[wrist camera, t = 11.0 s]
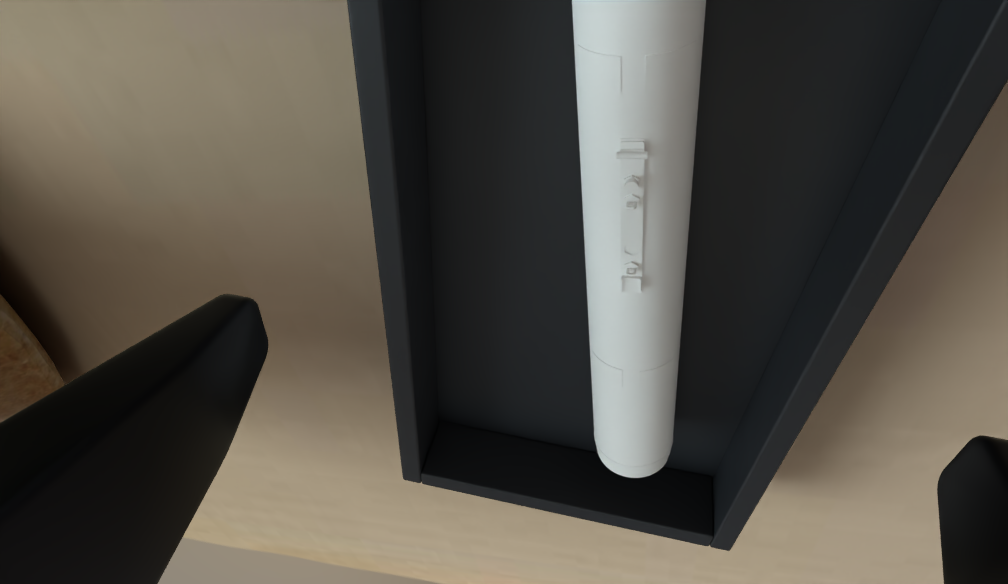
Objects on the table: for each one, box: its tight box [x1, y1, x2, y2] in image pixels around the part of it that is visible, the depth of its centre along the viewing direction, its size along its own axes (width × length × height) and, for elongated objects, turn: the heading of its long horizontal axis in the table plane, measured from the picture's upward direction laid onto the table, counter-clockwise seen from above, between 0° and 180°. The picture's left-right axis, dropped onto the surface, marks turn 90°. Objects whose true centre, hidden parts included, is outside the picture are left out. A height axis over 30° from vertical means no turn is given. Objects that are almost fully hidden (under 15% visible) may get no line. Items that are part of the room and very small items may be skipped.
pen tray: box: [347, 0, 1008, 551], centre depth 13 cm, size 10×23×2 cm, turn 177°
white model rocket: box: [572, 0, 706, 478], centre depth 12 cm, size 18×2×2 cm, turn 7°
